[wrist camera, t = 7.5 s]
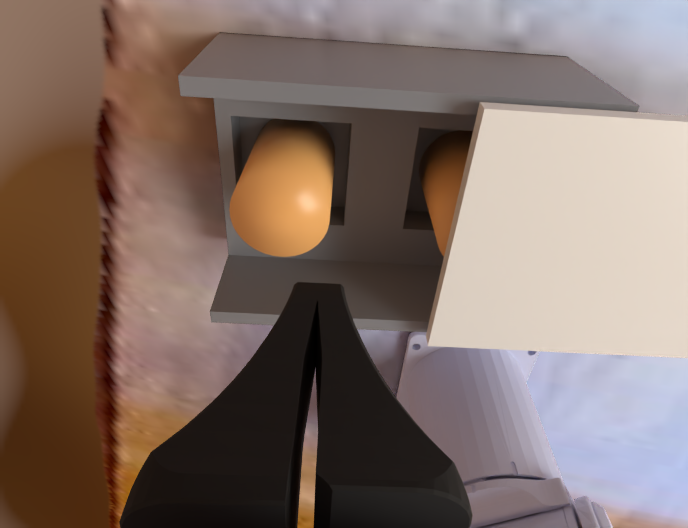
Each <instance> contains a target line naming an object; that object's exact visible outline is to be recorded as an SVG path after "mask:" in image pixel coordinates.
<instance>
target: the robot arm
mask: <svg viewBox="0 0 688 528" xmlns="http://www.w3.org/2000/svg"><path fill="white" fill-rule="evenodd" d="M426 333H427V332H412V333H411V334H410V335H409V337H408V342H407V347H406V352H405V357H404V362H403V367H402V372H401V377H400V382H399V387H398V392H397V397H395V395H394V394H393V393H392V391H391V390H390V388H389V387H388V385H387V384H386V382H385V381H384V379H383V378H382V376H381V375H380V373H379V371H378V370H377V368H376V366H375V364H374V363H373V361H372V359H371V357H370V355H369V353H368V352H367V350H366V348H365V346H364V344H363V342H362V340H361V337H360V335H359V333H358V330H357V328H356V326H355V324H354V321H353V318H352V316H351V313H350V310H349V307H348V304H347V300H346V296H345V291H344V287H343V286H342V285H341V284H332V283H309V282H297V283H296V284H294V286H293V289H292V292H291V294H290V297H289V299H288V301H287V303H286V305H285V307H284V309H283V311H282V313H281V314H280V316H279V318H278V320H277V321H276V323H275V325H274V326H273V328H272V330H271V331H270V333H269V334H268V336H267V337H266V339H265V340H264V342H263V343H262V344H261V346H260V347H259V349H258V350H257V352H256V353H255V354H254V356H253V357H252V358H251V360H250V361H249V362H248V363H247V365H246V366H245V367H244V368H243V369H242V371H241V372H240V373H239V374H238V375H237V376H236V378H235V379H234V380H233V381H232V382H231V383H230V384H229V385H228V386H227V387H226V388H225V389H224V391H223V392H222V393H221V394H220V395H219V396H218V397H217V398H216V399H215V400H214V401H213V402H212V403H210V404H209V405H208V406H207V407H206V408H205V409H204V410H203V411H202V412H200V413H199V414H198V415H197V416H196V417H195V418H194V419H193V420H192V421H190V422H189V423H188V424H187V425H186V426H185V427H183V428H182V429H181V430H180V431H178V432H177V433H176V434H174V435H173V436H172V437H170V438H169V439H168V440H166V441H165V442H164V443H163V444H161V445H160V446H159V447H157V448H156V449H155V450H153V451H152V452H151V453H150V455H149V456H148V458H147V460H146V461H145V463H144V465H143V467H142V468H141V470H140V472H139V474H138V476H137V478H136V480H135V482H134V484H133V486H132V488H131V491H130V493H129V496H128V499H127V502H126V505H125V508H124V510H123V513H122V516H121V519H120V528H297V523H298V508H299V494H300V479H301V465H302V451H303V442H304V434H305V428H306V422H307V416H308V410H309V404H310V398H311V392H312V385H313V379H314V373H315V367H316V389H317V413H318V446H317V463H316V484H315V509H314V528H613V526H612V524H611V522H610V520H609V518H608V516H607V513H606V511H605V509H604V508H603V507H602V506H600V505H598V504H597V503H595V502H591V500H590V499H589V498H588V497H587V496H582V497H579V498H577V499H574V501H573V499H572V497H571V496H570V494H569V492H568V490H567V488H566V486H565V484H564V481H563V479H562V476H561V473H560V471H559V468H558V465H557V463H556V460H555V457H554V455H553V452H552V450H551V447H550V444H549V442H548V439H547V436H546V434H545V431H544V428H543V426H542V423H541V420H540V418H539V415H538V413H537V410H536V407H535V405H534V402H533V399H532V397H531V394H530V391H529V389H528V386H527V384H526V382H527V380H528V378H529V375H530V373H531V371H532V369H533V366H534V364H535V362H536V360H537V357H538V355H539V353H540V351H524V350H502V349H481V348H459V347H437V346H428V344H427V339H426ZM414 344H418V345H414ZM574 502H575V503H574Z"/></svg>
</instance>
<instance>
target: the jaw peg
mask: <svg viewBox="0 0 688 528" xmlns="http://www.w3.org/2000/svg"><path fill="white" fill-rule="evenodd" d="M334 165H335V147H334V143H333V141H332V138H331V136H330V134H329V133H328V132H327V130H326V129H325V128H324V127H323V126H322V125H321V124H320V123H318V122H317V121H305V120H289V119H272V120H271V121H269V122H268V123H267V124H266V125H265V126H264V127H263V128H262V130H261V131H260V133H259V135H258V137H257V139H256V142H255V144H254V146H253V149H252V151H251V153H250V155H249V158H248V160H247V162H246V165H245V167H244V169H243V172H242V174H241V176H240V179H239V181H238V183H237V185H236V188H235V190H234V192H233V195H232V197H231V201H230V208H229V211H230V218H231V222H232V224H233V227H234V229H235V230H236V232H237V233H238V235H239V236H240V237H241V238H242V239H243V241H245V242H246V243H247V244H248V245H249V246H251V247H252V248H254V249H256V250H258V251H260V252H262V253H265V254H268V255H272V256H278V257H290V256H296V255H300V254H303V253H305V252H308V251H309V250H311V249H313V248H314V247H315V246H317V245H318V244H319V243H320V242H321V240H322V239H323V238H324V236H325V234H326V233H327V230H328V227H329V222H330V211H331V199H332V188H333V176H334Z"/></svg>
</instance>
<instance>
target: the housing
mask: <svg viewBox="0 0 688 528" xmlns="http://www.w3.org/2000/svg"><path fill="white" fill-rule="evenodd" d="M178 80H179V87H180V94H181V96H188V97H203V98H214V107H215V118H216V128H217V139H218V149H219V160H220V170H221V181H222V191H223V201H224V212H225V222H226V233H227V243H228V254H229V255H228V258H227V261H226V264H225V267H224V270H223V273H222V277H221V280H220V283H219V286H218V289H217V292H216V295H215V298H214V301H213V304H212V307H211V310H210V316H211V322H219V323H240V324H261V325H275V323H276V321H277V320H278V318H279V316H280V314H281V313H282V311H283V309H284V307H285V305H286V303H287V301H288V299H289V297H290V294H291V292H292V289H293V286H294V284H296V283H297V282H309V283H332V284H341V285H342V286H343V287H344V291H345V296H346V300H347V304H348V307H349V310H350V313H351V316H352V318H353V321H354V324H355V326H356V328H357V329H367V330H388V331H409V332H427V328H428V324H429V320H430V315H431V311H432V307H433V302H434V298H435V294H436V290H437V285H438V281H439V277H440V272H441V268H442V264H443V259H444V256H443V255H442V253H441V252H440V250H439V247H438V243H437V240H436V236H435V232H434V229H433V225H432V221H431V218H430V214H429V210H428V207H427V203H426V200H425V196H424V192H423V189H422V185H421V181H420V177H419V165H420V161H421V158H422V156H423V154H424V152H425V151H426V149H427V148H428V147H429V145H430V144H431V143H432V142H434V141H435V140H436V139H437V138H439V137H440V136H442V135H444V134H447V133H449V132H453V131H458V130H463V131H473V129H474V125H475V121H476V116H477V112H478V108H479V104H480V102H488V103H503V104H518V105H533V106H549V107H564V108H579V109H595V110H610V111H625V112H637V111H638V108H639V105H637V104H636V103H634V102H633V101H631V100H630V99H628V98H627V97H625V96H624V95H623V94H621V93H620V92H618V91H617V90H615V89H614V88H612V87H611V86H609V85H608V84H607V83H605V82H604V81H602V80H601V79H599V78H598V77H596V76H595V75H593V74H592V73H590V72H589V71H588V70H586V69H585V68H583V67H582V66H580V65H579V64H577V63H576V62H574V61H573V60H572V59H570V58H569V57H566V56H552V55H538V54H523V53H509V52H494V51H480V50H466V49H451V48H437V47H422V46H408V45H394V44H379V43H365V42H350V41H336V40H322V39H307V38H293V37H278V36H264V35H250V34H235V33H221V32H220V33H219V34H218V35H217V36H216V37H215V38H214V39H213V40H212V41H211V42H210V43H209V44H208V45H207V46H206V47H205V48H204V49H203V50H202V51H201V52H200V53H199V54H198V55H197V57H196V58H195V59H194V60H193V61H192V62H191V63H190V64H189V65H188V66H187V67H186V68H185V69H184V70H183V71H182V72H181V73H180V74H179V75H178ZM272 119H289V120H305V121H317V122H318V123H320V124H321V125H322V126H323V127H324V128H325V129H326V130H327V132H328V133H329V134H330V136H331V138H332V141H333V143H334V147H335V165H334V176H333V188H332V199H331V211H330V222H329V227H328V230H327V233H326V234H325V236H324V238H323V239H322V240H321V242H320V243H319V244H318V245H317V246H315V247H314V248H313V249H311V250H309V251H308V252H305V253H303V254H300V255H296V256H290V257H278V256H272V255H268V254H265V253H262V252H260V251H258V250H256V249H254V248H252V247H251V246H249V245H248V244H247V243H246V242H245V241H243V239H242V238H241V237H240V236H239V235H238V233H237V232H236V230H235V229H234V227H233V224H232V222H231V218H230V211H229V208H230V201H231V197H232V195H233V192H234V190H235V188H236V185H237V183H238V181H239V179H240V176H241V174H242V172H243V169H244V167H245V165H246V162H247V160H248V158H249V155H250V153H251V151H252V149H253V146H254V144H255V142H256V139H257V137H258V135H259V133H260V131H261V130H262V128H263V127H264V126H265V125H266V124H267V123H268V122H269V121H271V120H272Z"/></svg>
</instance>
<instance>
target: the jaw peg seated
mask: <svg viewBox="0 0 688 528" xmlns="http://www.w3.org/2000/svg"><path fill="white" fill-rule="evenodd" d="M472 134H473V131H463V130H458V131H453V132H449V133H447V134H444V135H442V136H440V137H439V138H437V139H436V140H435V141H434V142H432V143H431V144H430V145H429V147H428V148H427V149H426V151H425V152H424V154H423V156H422V158H421V161H420V165H419V177H420V181H421V185H422V189H423V192H424V196H425V200H426V203H427V207H428V210H429V214H430V218H431V221H432V225H433V229H434V232H435V236H436V240H437V243H438V247H439V250H440V252H441V253H442V255H443V256H444V255H445V251H446V246H447V242H448V238H449V233H450V229H451V225H452V220H453V216H454V212H455V207H456V203H457V199H458V194H459V190H460V186H461V181H462V177H463V173H464V168H465V164H466V160H467V155H468V151H469V147H470V142H471V138H472Z"/></svg>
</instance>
